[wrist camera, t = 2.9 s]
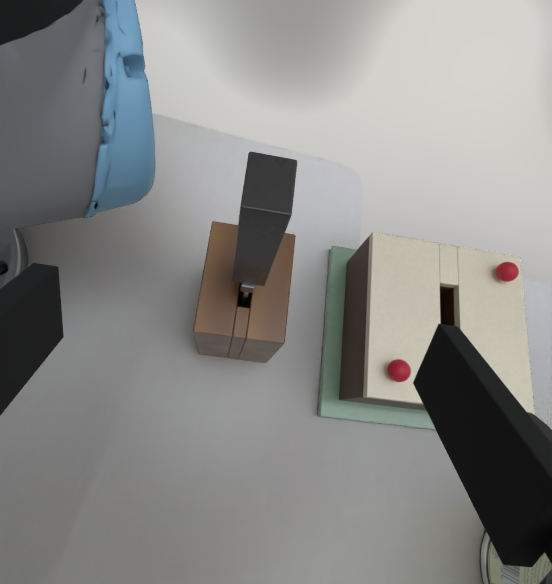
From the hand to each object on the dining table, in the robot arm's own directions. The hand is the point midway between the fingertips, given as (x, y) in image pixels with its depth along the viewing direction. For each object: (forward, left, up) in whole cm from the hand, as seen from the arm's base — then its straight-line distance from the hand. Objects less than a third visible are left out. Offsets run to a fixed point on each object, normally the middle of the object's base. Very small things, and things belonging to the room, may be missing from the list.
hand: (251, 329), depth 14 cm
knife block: (-4, +5, -22) cm, 23 cm away
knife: (-4, +5, -21) cm, 22 cm away
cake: (+8, +15, -21) cm, 27 cm away
